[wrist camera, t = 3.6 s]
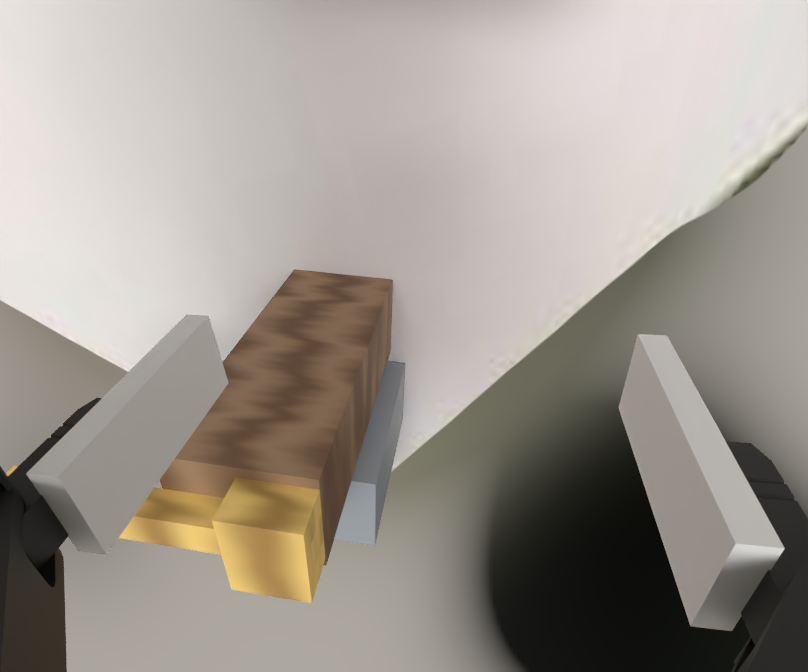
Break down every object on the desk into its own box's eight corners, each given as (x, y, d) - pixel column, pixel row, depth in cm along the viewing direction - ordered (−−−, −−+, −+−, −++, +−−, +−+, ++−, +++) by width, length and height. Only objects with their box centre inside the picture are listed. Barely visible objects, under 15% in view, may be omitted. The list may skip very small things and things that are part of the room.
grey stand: (307, 407, 71) (251, 526, 54) (301, 351, 65) (238, 464, 49) (402, 419, 69) (375, 545, 53) (405, 363, 64) (375, 484, 47)
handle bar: (40, 511, 40) (6, 550, 37) (0, 442, 36) (-44, 479, 33) (325, 558, 38) (311, 603, 35) (319, 489, 33) (303, 535, 30)
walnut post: (300, 338, 64) (181, 541, 39) (294, 269, 59) (150, 455, 34) (390, 349, 63) (326, 565, 38) (392, 279, 57) (318, 480, 33)
